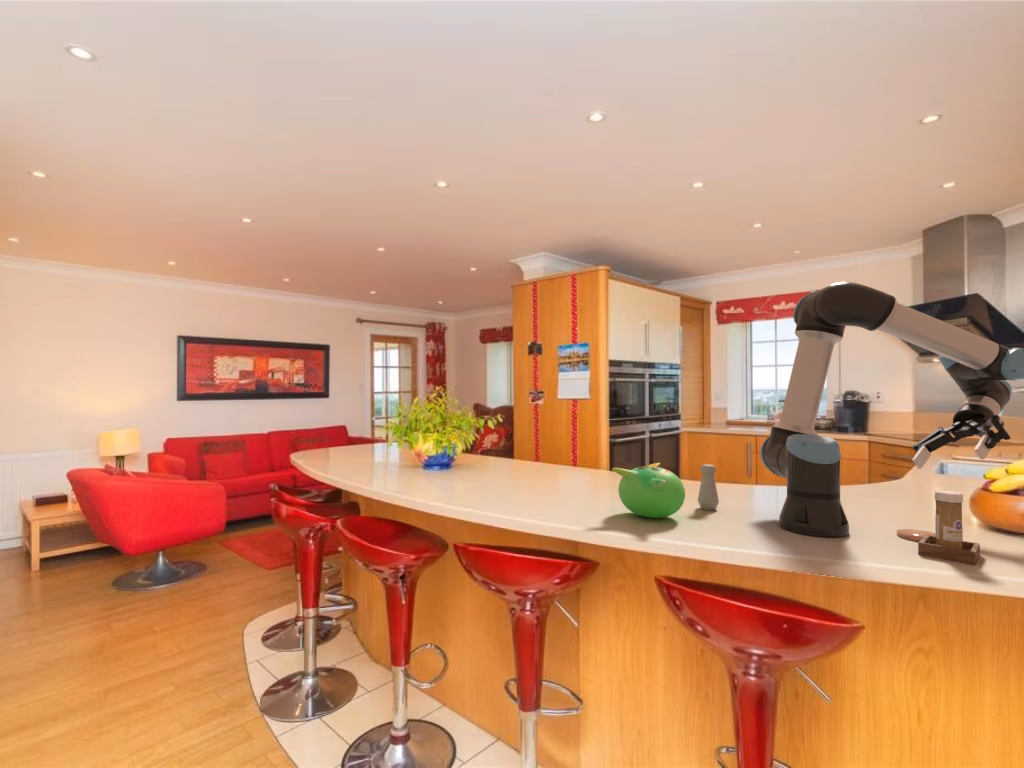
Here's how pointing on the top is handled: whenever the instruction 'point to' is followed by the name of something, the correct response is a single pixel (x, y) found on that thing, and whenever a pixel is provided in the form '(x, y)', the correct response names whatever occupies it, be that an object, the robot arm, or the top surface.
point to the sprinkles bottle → (949, 519)
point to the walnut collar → (949, 550)
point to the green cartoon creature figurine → (650, 491)
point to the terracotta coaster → (913, 534)
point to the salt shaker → (708, 488)
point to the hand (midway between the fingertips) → (946, 459)
